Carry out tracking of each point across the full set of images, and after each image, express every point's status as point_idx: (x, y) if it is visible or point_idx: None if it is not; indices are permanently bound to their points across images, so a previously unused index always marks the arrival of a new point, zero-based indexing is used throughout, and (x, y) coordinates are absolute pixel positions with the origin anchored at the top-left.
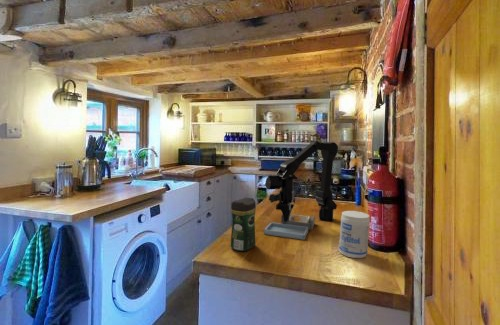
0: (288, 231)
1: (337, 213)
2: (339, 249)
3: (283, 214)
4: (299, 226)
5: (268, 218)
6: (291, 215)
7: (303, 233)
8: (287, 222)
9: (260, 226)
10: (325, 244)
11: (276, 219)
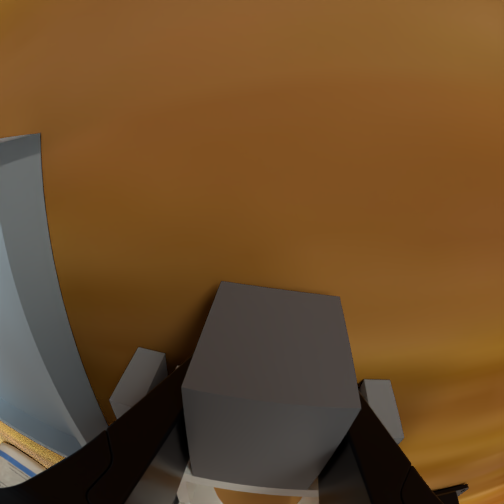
0: (3, 343)
1: (496, 491)
2: (4, 448)
3: (101, 449)
4: (80, 443)
5: (481, 22)
6: (274, 493)
7: (45, 419)
8: (118, 387)
9: (15, 14)
10: (27, 441)
11: (468, 167)
